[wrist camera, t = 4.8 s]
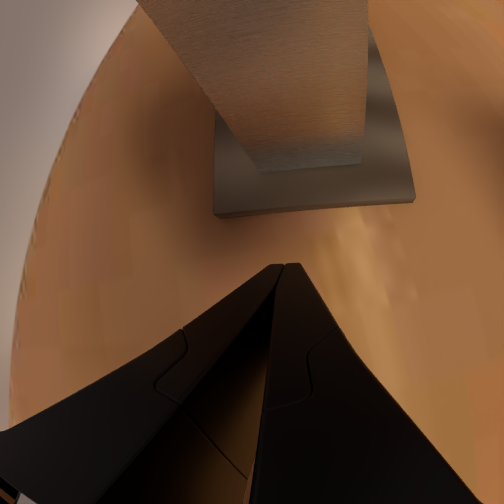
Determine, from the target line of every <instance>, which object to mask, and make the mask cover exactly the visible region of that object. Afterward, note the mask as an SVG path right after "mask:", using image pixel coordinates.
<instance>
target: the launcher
mask: <svg viewBox="0 0 504 504" xmlns="http://www.w3.org/2000/svg"><path fill="white" fill-rule="evenodd" d="M415 198H416V195H415V189H414V183H413V178H412V173H411V168H410V163H409V158H408V153H407V149H406V144H405V140H404V136H403V131H402V127H401V123H400V120H399V116H398V112H397V108H396V105H395V101H394V98H393V94H392V91H391V88H390V84H389V81H388V78H387V75H386V72H385V69H384V66H383V63H382V60H381V57H380V54H379V51H378V49H377V46H376V43H375V40H374V38H373V35H372V33H371V30H370V28H369V25H368V72H367V96H366V113H365V127H364V140H363V151H362V161H361V164H350V165H337V166H325V167H314V168H304V169H294V170H285V171H276V172H268V173H259V172H258V170H257V169H256V167H255V166H254V164H253V163H252V161H251V160H250V158H249V157H248V155H247V154H246V152H245V151H244V149H243V148H242V146H241V145H240V143H239V142H238V140H237V139H236V137H235V136H234V134H233V133H232V131H231V130H230V128H229V127H228V125H227V124H226V123H225V121H224V120H223V118H222V117H221V115H220V114H219V112H218V111H217V109H216V119H215V152H214V209H213V214H214V215H215V216H217V217H218V218H228V217H238V216H248V215H258V214H268V213H279V212H290V211H302V210H314V209H326V208H339V207H353V206H367V205H383V204H399V203H413V201H414V200H415Z"/></svg>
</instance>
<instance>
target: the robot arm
mask: <svg viewBox="0 0 504 504" xmlns="http://www.w3.org/2000/svg"><path fill="white" fill-rule="evenodd" d="M255 454H256V457H255ZM254 457H255V464H254V472H253V479H252V486H251V493H250V499H249V504H483V503H482V502H480V501H479V500H478V499H477V498H476V497H475V495H474V494H473V493H472V492H471V490H470V489H469V488H468V487H467V486H466V484H465V483H464V482H463V481H462V479H461V478H460V477H459V476H458V475H457V473H456V472H455V471H454V470H453V469H452V467H451V466H450V465H449V464H448V463H447V461H446V460H445V459H444V458H443V457H442V455H441V454H440V453H439V452H438V450H437V449H436V448H435V447H434V446H433V444H432V443H431V442H430V441H429V440H428V439H427V437H426V436H425V435H424V434H423V433H422V431H421V430H420V429H419V428H418V427H417V425H416V424H415V423H414V422H413V421H412V419H411V418H410V417H409V416H408V415H407V413H406V412H405V411H404V410H403V409H402V408H401V406H400V405H399V404H398V403H397V402H396V400H395V399H394V398H393V397H392V396H391V395H390V393H389V392H388V391H387V390H386V389H385V387H384V386H383V385H382V384H381V383H380V382H379V380H378V379H377V378H376V377H375V376H374V375H373V373H372V372H371V371H370V370H369V369H368V367H367V366H366V365H365V364H364V362H363V361H362V360H361V359H360V357H359V356H358V355H357V353H356V352H355V351H354V349H353V347H352V346H351V344H350V343H349V341H348V340H347V338H346V337H345V335H344V333H343V332H342V330H341V329H340V328H339V326H338V324H337V322H336V321H335V319H334V317H333V316H332V314H331V312H330V311H329V309H328V307H327V306H326V304H325V302H324V301H323V299H322V297H321V296H320V294H319V293H318V291H317V289H316V288H315V286H314V284H313V283H312V281H311V279H310V278H309V276H308V275H307V273H306V271H305V270H304V268H303V267H302V265H301V264H300V263H287V264H285V265H284V264H270V265H268V266H267V267H265V268H264V269H263V270H261V271H260V272H259V273H257V274H256V275H255V276H253V277H252V278H251V279H249V280H248V281H246V282H245V283H244V284H242V285H241V286H240V287H238V288H237V289H235V290H234V291H233V292H231V293H230V294H229V295H227V296H226V297H224V298H223V299H222V300H220V301H219V302H218V303H216V304H215V305H213V306H212V307H211V308H209V309H208V310H207V311H205V312H204V313H202V314H201V315H200V316H198V317H197V318H195V319H194V320H193V321H191V322H190V323H188V324H187V325H186V326H184V327H183V330H182V329H179V330H178V331H176V332H175V333H174V334H172V335H171V336H169V337H168V338H166V339H165V340H163V341H162V342H160V343H159V344H157V345H156V346H154V347H153V348H152V349H150V350H148V351H147V352H145V353H143V354H142V355H140V356H138V357H137V358H135V359H133V360H132V361H130V362H128V363H127V364H125V365H123V366H121V367H120V368H118V369H116V370H115V371H113V372H111V373H109V374H108V375H106V376H104V377H102V378H101V379H99V380H97V381H95V382H94V383H92V384H90V385H88V386H86V387H85V388H83V389H81V390H79V391H78V392H76V393H74V394H72V395H70V396H69V397H67V398H65V399H63V400H61V401H60V402H58V403H56V404H54V405H52V406H51V407H49V408H47V409H45V410H43V411H41V412H40V413H38V414H36V415H34V416H32V417H30V418H28V419H27V420H25V421H23V422H21V423H19V424H17V425H15V426H13V427H12V428H10V429H7V430H5V431H1V432H0V504H243V497H244V492H245V488H246V484H247V479H248V477H249V474H250V471H251V467H252V464H253V461H254Z"/></svg>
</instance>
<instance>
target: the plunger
mask: <svg viewBox="0 0 504 504" xmlns="http://www.w3.org/2000/svg"><path fill="white" fill-rule="evenodd" d="M136 1H137V2H138V3H139V5H140V6H141V7H142V9H143V10H144V11H145V12H146V14H147V15H148V16H149V18H150V19H151V20H152V21H153V23H154V24H155V25H156V27H157V28H158V29H159V31H160V32H161V33H162V35H163V36H164V37H165V39H166V40H167V41H168V43H169V44H170V45H171V47H172V48H173V49H174V51H175V52H176V53H177V55H178V56H179V58H180V59H181V60H182V62H183V63H184V64H185V66H186V67H187V69H188V70H189V71H190V73H191V74H192V75H193V77H194V78H195V80H196V81H197V82H198V84H199V85H200V87H201V88H202V89H203V91H204V92H205V94H206V95H207V97H208V98H209V99H210V101H211V102H212V104H213V105H214V107H215V108H216V109H217V111H218V112H219V114H220V115H221V117H222V118H223V120H224V121H225V123H226V124H227V125H228V127H229V128H230V130H231V131H232V133H233V134H234V136H235V137H236V139H237V140H238V142H239V143H240V145H241V146H242V148H243V149H244V151H245V152H246V154H247V155H248V157H249V158H250V160H251V161H252V163H253V164H254V166H255V167H256V169H257V170H258V172H259V173H268V172H276V171H285V170H294V169H304V168H314V167H325V166H337V165H350V164H361V161H362V151H363V140H364V127H365V113H366V96H367V72H368V0H136Z"/></svg>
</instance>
